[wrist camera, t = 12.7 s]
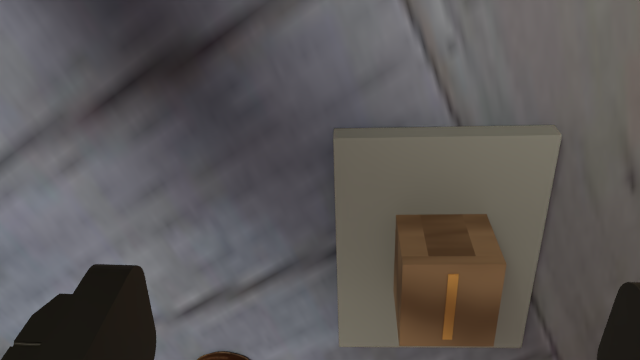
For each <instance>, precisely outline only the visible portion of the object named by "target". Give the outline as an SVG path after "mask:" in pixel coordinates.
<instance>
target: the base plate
mask: <svg viewBox="0 0 640 360" xmlns="http://www.w3.org/2000/svg"><path fill="white" fill-rule="evenodd" d="M561 137H562V135H561V133H560V132H559V131H558V129H557V128H556V127H555V126H554V125H528V126H465V127H401V128H337V129H334V135H333V145H334V181H335V217H336V253H337V289H338V325H339V347H442V348H521V346H522V341H523V335H524V330H525V325H526V320H527V315H528V309H529V304H530V299H531V294H532V288H533V283H534V278H535V273H536V268H537V262H538V257H539V252H540V247H541V241H542V236H543V231H544V226H545V221H546V215H547V210H548V205H549V200H550V195H551V189H552V184H553V179H554V174H555V168H556V163H557V158H558V153H559V148H560V142H561ZM423 214H487V216H488V219H489V221H490V224H491V226H492V229H493V231H494V234H495V237H496V239H497V242H498V244H499V247H500V249H501V252H502V254H503V257H504V259H505V262H506V264H507V265H506V271H505V277H504V284H503V290H502V296H501V303H500V309H499V315H498V322H497V328H496V334H495V341H494V347H461V346H399V339H398V330H397V320H396V311H395V301H394V292H393V287H394V258H395V229H396V215H423Z"/></svg>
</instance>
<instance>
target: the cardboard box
mask: <svg viewBox="0 0 640 360" xmlns="http://www.w3.org/2000/svg"><path fill="white" fill-rule="evenodd" d="M506 265H507V264H506V262H505V259H504V257H503V254H502V252H501V249H500V247H499V244H498V242H497V239H496V237H495V234H494V231H493V229H492V226H491V224H490V221H489V219H488V216H487V214H423V215H396V229H395V258H394V287H393V292H394V301H395V311H396V320H397V330H398V339H399V346H461V347H494V341H495V334H496V328H497V322H498V315H499V309H500V303H501V296H502V290H503V284H504V277H505V271H506Z"/></svg>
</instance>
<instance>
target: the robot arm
mask: <svg viewBox="0 0 640 360" xmlns="http://www.w3.org/2000/svg"><path fill="white" fill-rule="evenodd" d="M155 350H156V330H155V325H154V320H153V315H152V310H151V305H150V300H149V295H148V290H147V285H146V280H145V276H144V272H143V270H142V268H141V267H140V266H137V265H105V264H95V265H93V266H91V267H90V268H89V270H88V271H87V273H86V274H85V276H84V277H83V279H82V280H81V282H80V284H79V285H78V287H77V288H76V290H75V291H74V293H73V294H59V295H57V296H56V297H55V298H53V299H52V300H51V301H50V302H48V303H47V304H46V305H45V306H43V307H42V308H41V309H39V310H38V311H37V312H36V313H34V314H33V315H32V316H31V317H30V319H29V320H28V322H27V323H26V325H25V326H24V328H23V329H22V330H21V332H20V333H19V335H18V336H17V338H16V339H15V340H14V345H13V347H10V348H9V349H8V350H7V352H6V353H5V355H4V356H3V358H2V359H1V360H154V356H155ZM597 360H640V283H638V282H627V283H624V284H623V285H622V286H621V287H620V289H619V291H618V293H617V296H616V299H615V302H614V304H613V307H612V310H611V313H610V316H609V319H608V322H607V325H606V328H605V330H604V333H603V336H602V339H601V342H600V345H599V348H598V354H597Z"/></svg>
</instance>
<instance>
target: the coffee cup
mask: <svg viewBox="0 0 640 360" xmlns="http://www.w3.org/2000/svg"><path fill="white" fill-rule="evenodd" d="M197 360H249V359H248V358H246V357H244V356H242V355H238V354H235V353H231V352H214V353H210V354H206V355H203V356H201V357H200V358H198V359H197Z"/></svg>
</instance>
